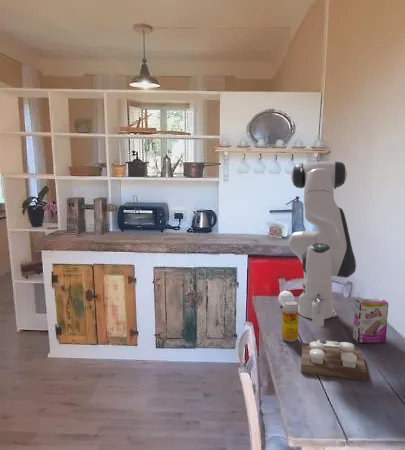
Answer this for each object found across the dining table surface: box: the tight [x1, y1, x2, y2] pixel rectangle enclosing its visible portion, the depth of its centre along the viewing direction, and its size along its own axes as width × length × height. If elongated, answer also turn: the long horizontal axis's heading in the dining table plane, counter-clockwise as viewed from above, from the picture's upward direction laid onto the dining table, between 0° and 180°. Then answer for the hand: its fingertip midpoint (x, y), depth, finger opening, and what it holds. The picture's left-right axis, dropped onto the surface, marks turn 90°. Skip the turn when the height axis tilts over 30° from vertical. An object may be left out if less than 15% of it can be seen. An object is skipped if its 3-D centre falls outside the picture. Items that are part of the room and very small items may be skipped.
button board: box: [300, 342, 368, 382], centre depth 127 cm, size 16×20×3 cm
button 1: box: [309, 341, 324, 351], centre depth 132 cm, size 5×5×4 cm
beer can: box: [281, 300, 299, 343], centre depth 147 cm, size 6×6×15 cm
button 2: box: [339, 341, 355, 354], centre depth 129 cm, size 5×5×4 cm
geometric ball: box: [277, 290, 295, 306], centre depth 185 cm, size 8×8×8 cm
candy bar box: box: [352, 298, 389, 344], centre depth 144 cm, size 11×5×16 cm, turn 92°
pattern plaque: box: [316, 339, 342, 347], centre depth 141 cm, size 7×9×1 cm
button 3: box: [310, 349, 325, 364], centre depth 125 cm, size 5×5×4 cm
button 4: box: [341, 352, 357, 368], centre depth 122 cm, size 5×5×4 cm
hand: (317, 328), depth 132 cm, fingers closed
